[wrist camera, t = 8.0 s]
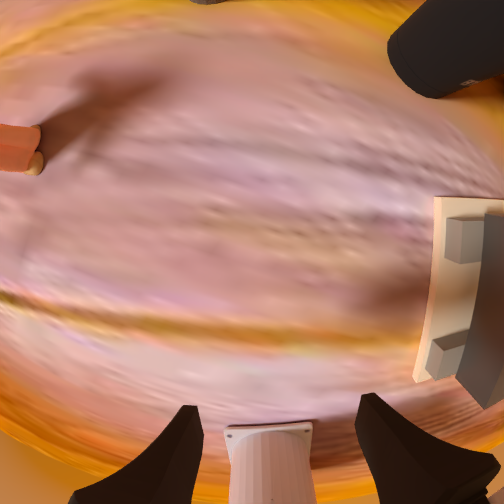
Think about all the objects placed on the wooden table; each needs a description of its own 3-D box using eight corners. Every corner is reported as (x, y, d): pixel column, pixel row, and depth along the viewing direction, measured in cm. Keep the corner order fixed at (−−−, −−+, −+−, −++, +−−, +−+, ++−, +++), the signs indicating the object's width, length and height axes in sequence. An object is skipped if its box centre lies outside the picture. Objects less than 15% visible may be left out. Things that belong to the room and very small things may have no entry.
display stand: (477, 355, 21) (492, 369, 18) (412, 376, 21) (426, 395, 18) (501, 199, 18) (523, 202, 15) (433, 196, 18) (457, 199, 15)
